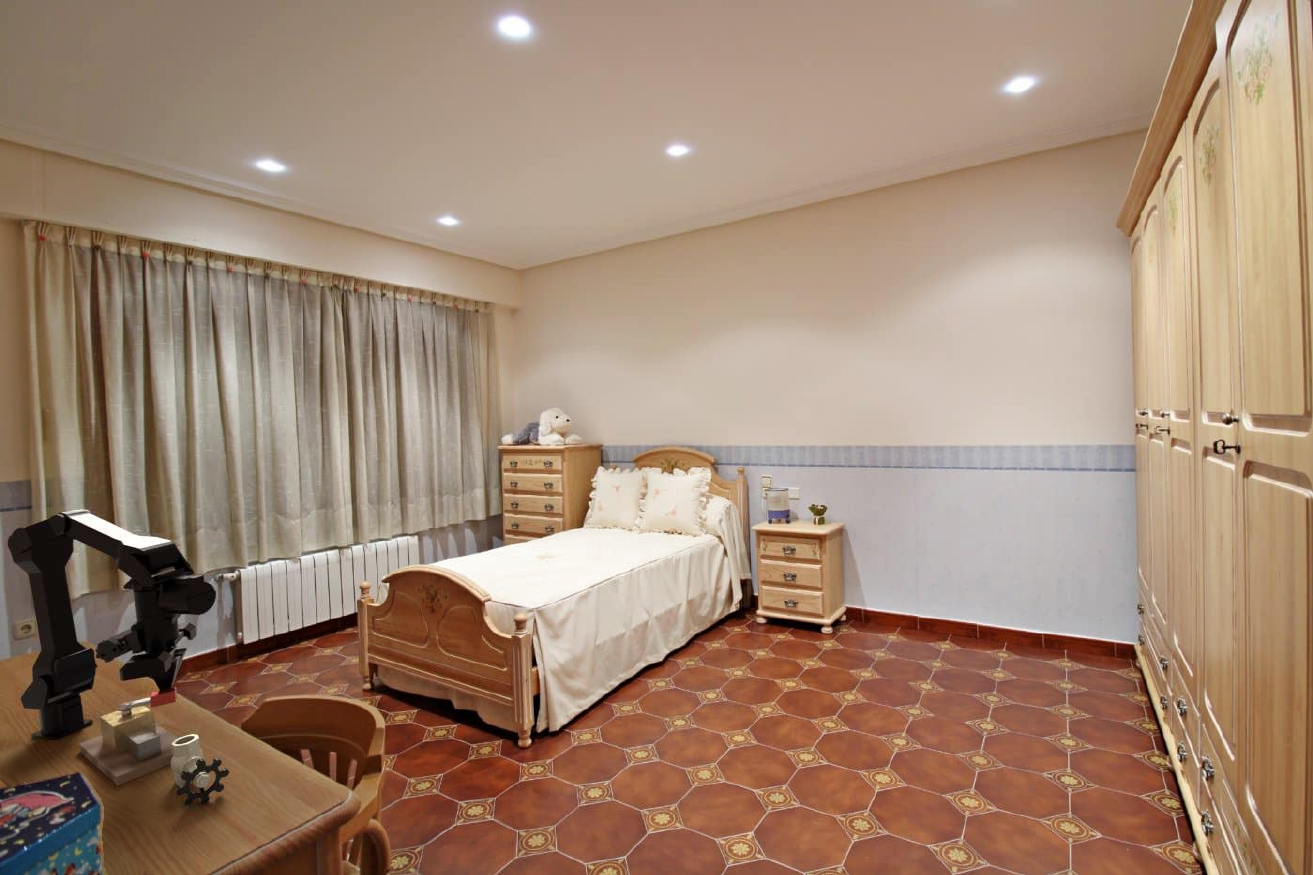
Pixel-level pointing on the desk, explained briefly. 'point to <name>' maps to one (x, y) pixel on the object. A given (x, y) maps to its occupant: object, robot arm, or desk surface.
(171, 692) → the lever
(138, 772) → the valve plank
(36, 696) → the robot arm
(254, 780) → the desk surface
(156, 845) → the desk surface
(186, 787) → the valve
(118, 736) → the beige stepped block
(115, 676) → the desk surface
